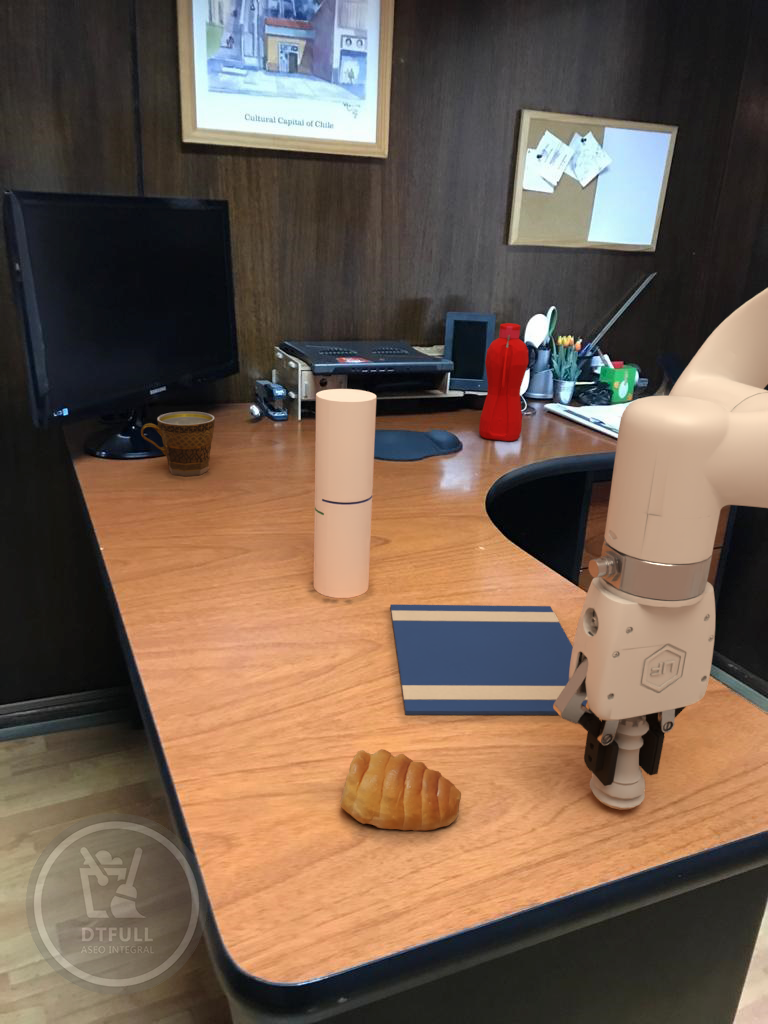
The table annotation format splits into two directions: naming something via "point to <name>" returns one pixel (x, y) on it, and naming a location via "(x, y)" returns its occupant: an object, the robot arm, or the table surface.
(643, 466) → the robot arm
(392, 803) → the pastry
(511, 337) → the water bottle
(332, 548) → the cylindrical container
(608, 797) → the rook chess piece
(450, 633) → the towel
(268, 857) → the table surface
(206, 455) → the ceramic cup
